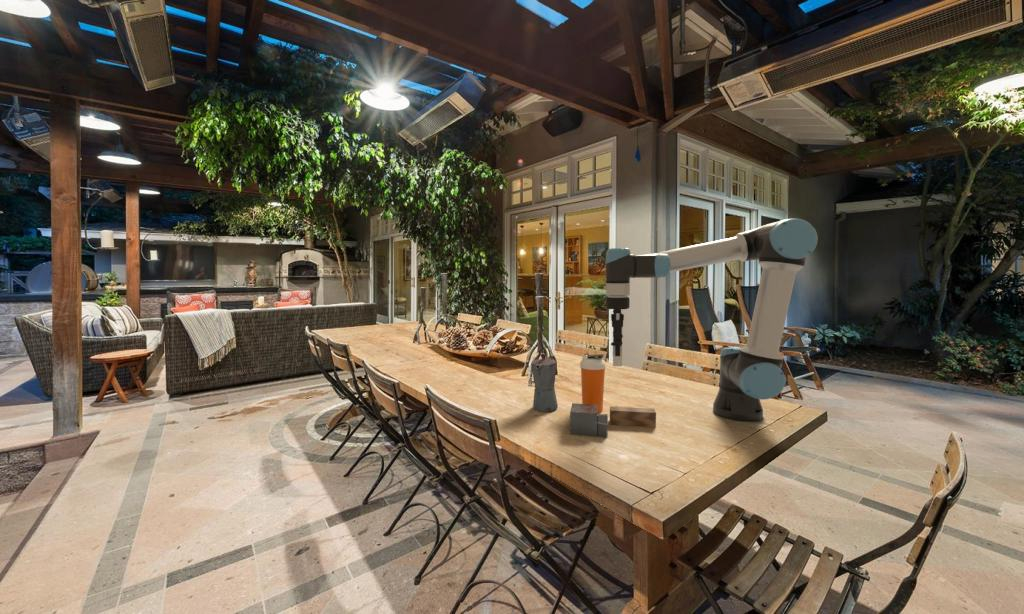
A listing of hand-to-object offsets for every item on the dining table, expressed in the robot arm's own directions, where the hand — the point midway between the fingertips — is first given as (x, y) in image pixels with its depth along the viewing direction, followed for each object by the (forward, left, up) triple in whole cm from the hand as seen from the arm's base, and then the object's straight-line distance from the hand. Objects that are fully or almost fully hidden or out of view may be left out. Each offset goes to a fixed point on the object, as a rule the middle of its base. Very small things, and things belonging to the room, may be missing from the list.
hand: (617, 361), depth 133 cm
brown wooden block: (-5, +2, -20) cm, 21 cm away
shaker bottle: (+8, -9, -20) cm, 24 cm away
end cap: (+8, +10, -20) cm, 24 cm away
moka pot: (+25, -8, -20) cm, 33 cm away
